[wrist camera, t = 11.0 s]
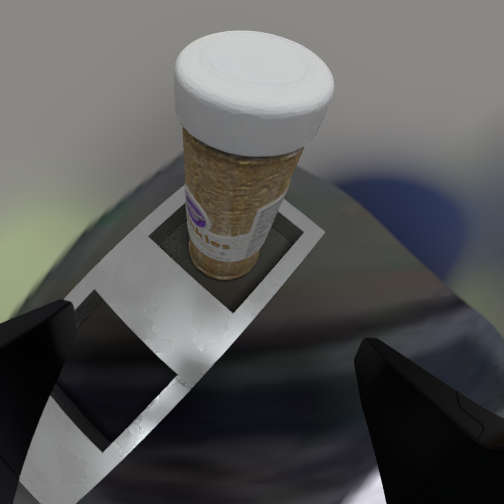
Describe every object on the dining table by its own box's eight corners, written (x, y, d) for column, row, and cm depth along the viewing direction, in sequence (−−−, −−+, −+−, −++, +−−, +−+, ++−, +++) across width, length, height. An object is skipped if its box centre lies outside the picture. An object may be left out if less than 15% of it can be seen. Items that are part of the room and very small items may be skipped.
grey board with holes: (68, 509, 10) (57, 519, 8) (-11, 415, 11) (-27, 416, 10) (314, 244, 20) (325, 232, 18) (221, 171, 21) (223, 154, 19)
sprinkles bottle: (174, 251, 18) (138, 58, 6) (221, 205, 20) (246, 16, 8) (229, 298, 18) (279, 135, 6) (274, 246, 20) (362, 72, 7)
